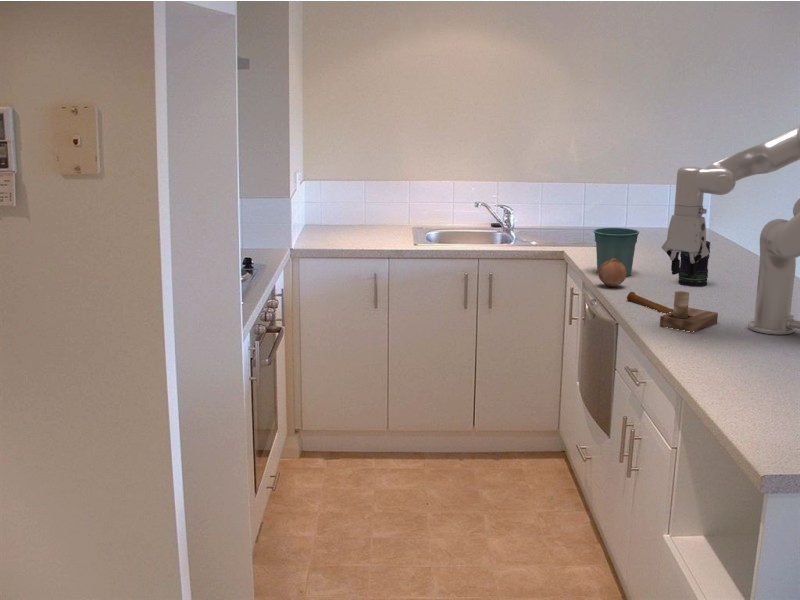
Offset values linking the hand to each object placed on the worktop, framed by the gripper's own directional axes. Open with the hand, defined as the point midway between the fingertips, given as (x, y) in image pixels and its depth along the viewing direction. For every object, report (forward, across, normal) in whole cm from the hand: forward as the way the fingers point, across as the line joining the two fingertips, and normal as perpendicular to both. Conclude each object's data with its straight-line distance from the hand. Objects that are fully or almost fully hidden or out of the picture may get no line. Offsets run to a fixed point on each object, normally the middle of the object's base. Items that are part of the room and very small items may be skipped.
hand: (683, 274), depth 269 cm
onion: (+16, +42, -34) cm, 56 cm away
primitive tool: (+16, +18, -17) cm, 29 cm away
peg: (+15, 0, 0) cm, 15 cm away
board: (+15, -1, -4) cm, 16 cm away
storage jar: (+16, +24, -58) cm, 65 cm away
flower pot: (+16, +53, -54) cm, 77 cm away
